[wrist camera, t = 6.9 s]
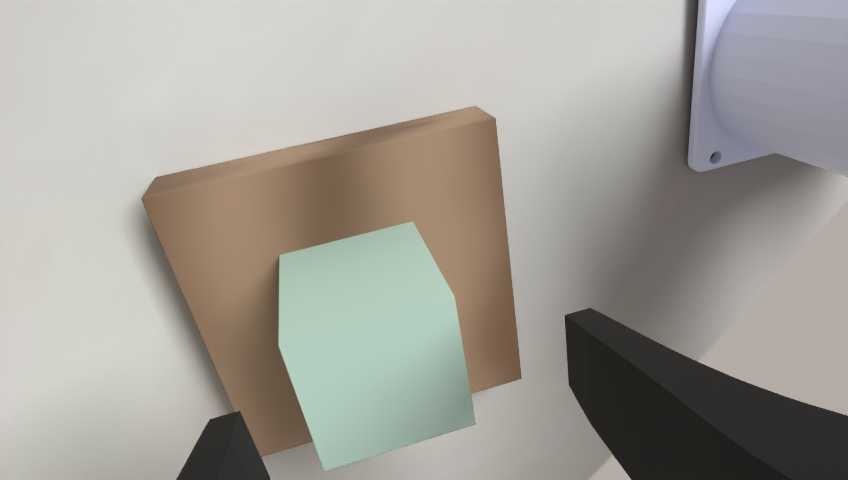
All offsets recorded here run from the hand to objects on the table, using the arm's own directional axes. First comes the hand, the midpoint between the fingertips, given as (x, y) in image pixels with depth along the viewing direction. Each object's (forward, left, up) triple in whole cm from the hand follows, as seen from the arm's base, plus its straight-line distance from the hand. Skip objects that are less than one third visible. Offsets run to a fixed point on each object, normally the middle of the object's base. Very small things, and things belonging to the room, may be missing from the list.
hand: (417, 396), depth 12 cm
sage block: (+1, +2, -7) cm, 8 cm away
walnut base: (+1, +2, -9) cm, 10 cm away
